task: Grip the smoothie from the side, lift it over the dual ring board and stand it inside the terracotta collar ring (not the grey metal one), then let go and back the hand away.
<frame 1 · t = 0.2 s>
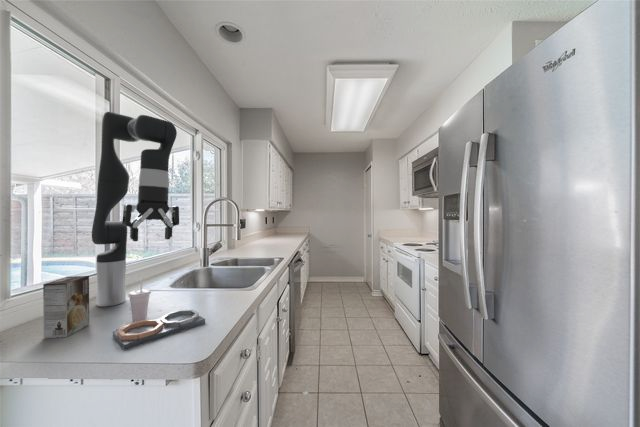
hand: (151, 240, 77), 29 cm above the countertop, tool pointing down, fingers open, 8 cm apart
coffee box: (67, 331, 80), on the countertop
smoothie: (139, 320, 88), on the countertop
grey collar: (180, 323, 85), resting on dual ring board
dual ring board: (161, 329, 81), on the countertop
terracotta collar: (141, 335, 77), resting on dual ring board
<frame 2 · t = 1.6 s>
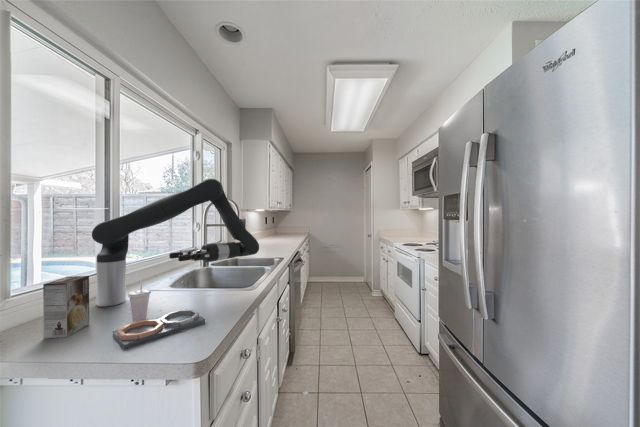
hand: (174, 257, 97), 20 cm above the countertop, tool horizontal, fingers open, 8 cm apart
nothing on the countertop moved.
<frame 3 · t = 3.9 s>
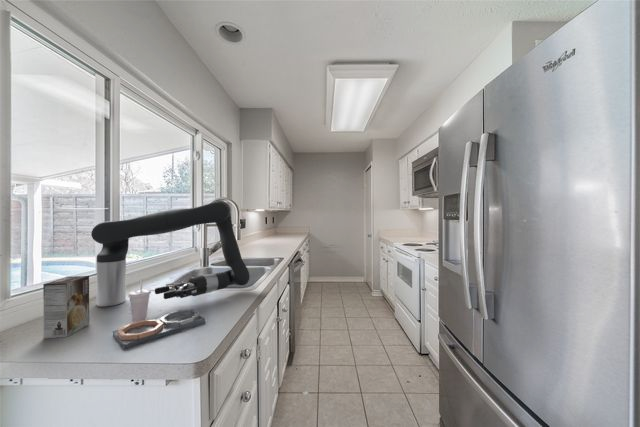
hand: (159, 293, 93), 7 cm above the countertop, tool horizontal, fingers open, 8 cm apart
nothing on the countertop moved.
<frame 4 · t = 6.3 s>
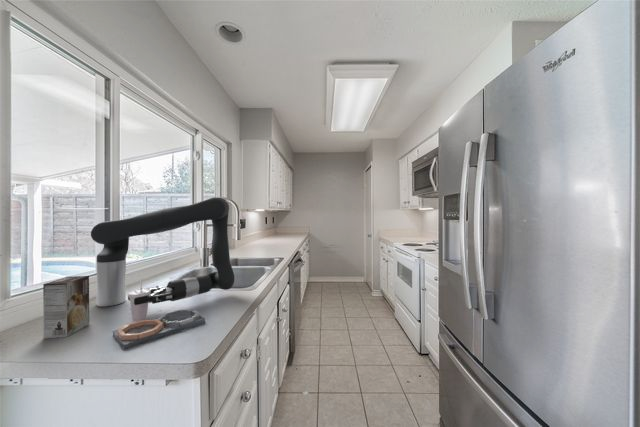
hand: (131, 299, 86), 8 cm above the countertop, tool horizontal, fingers closed on smoothie, 6 cm apart
smoothie: (139, 320, 88), on the countertop, touching gripper
everything else where it was.
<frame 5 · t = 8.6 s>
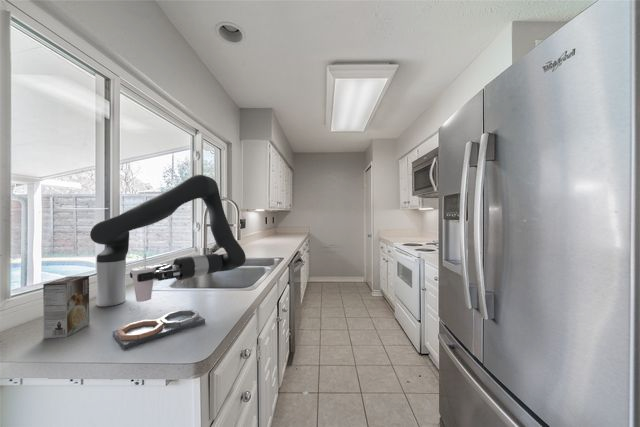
hand: (134, 276, 76), 18 cm above the countertop, tool horizontal, fingers closed on smoothie, 6 cm apart
smoothie: (143, 300, 78), point 10 cm above the countertop, touching gripper
everything else where it was.
when the fingers open (10 cm above the countertop, at t = 11.2 s): smoothie moves 2 cm, resting on dual ring board, terracotta collar.
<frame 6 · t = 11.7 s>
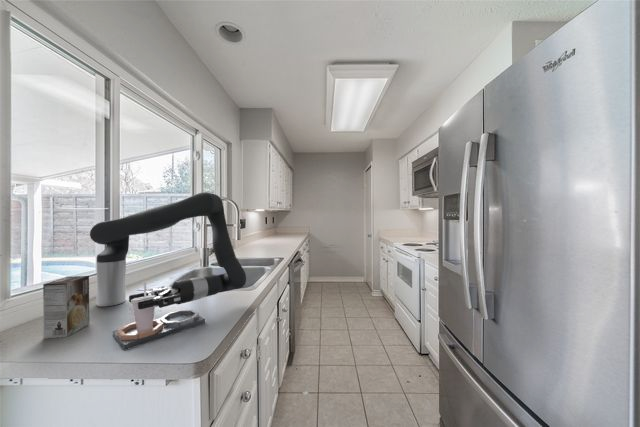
hand: (133, 302, 75), 11 cm above the countertop, tool horizontal, fingers open, 8 cm apart
smoothie: (145, 331, 76), point 2 cm above the countertop, touching dual ring board, terracotta collar
everything else where it was.
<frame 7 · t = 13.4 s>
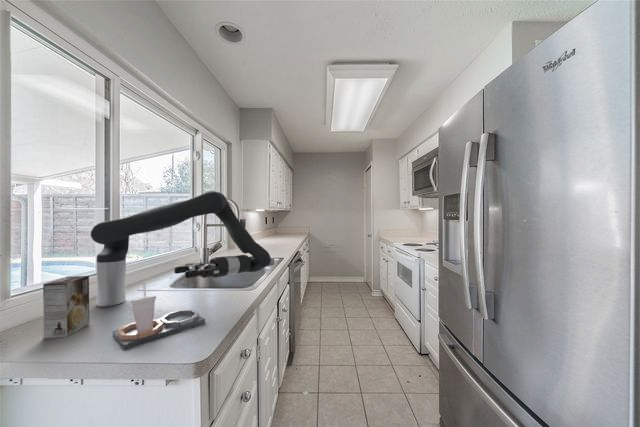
hand: (180, 272, 87), 17 cm above the countertop, tool horizontal, fingers open, 8 cm apart
nothing on the countertop moved.
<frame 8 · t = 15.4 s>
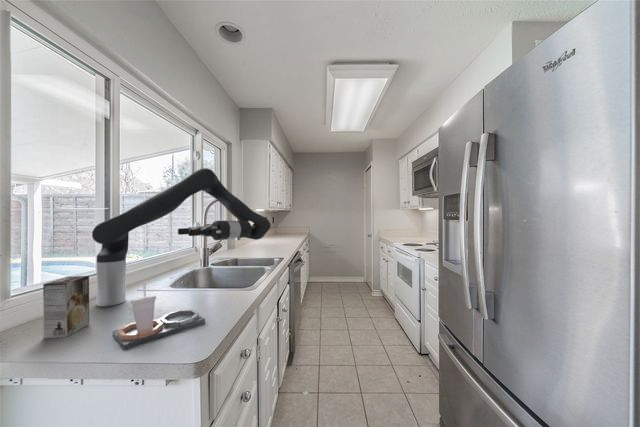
hand: (183, 232, 90), 30 cm above the countertop, tool horizontal, fingers open, 8 cm apart
nothing on the countertop moved.
at the end: smoothie 1.9 cm from the terracotta collar (horizontally); smoothie tilted 10°; the gripper is holding nothing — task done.
